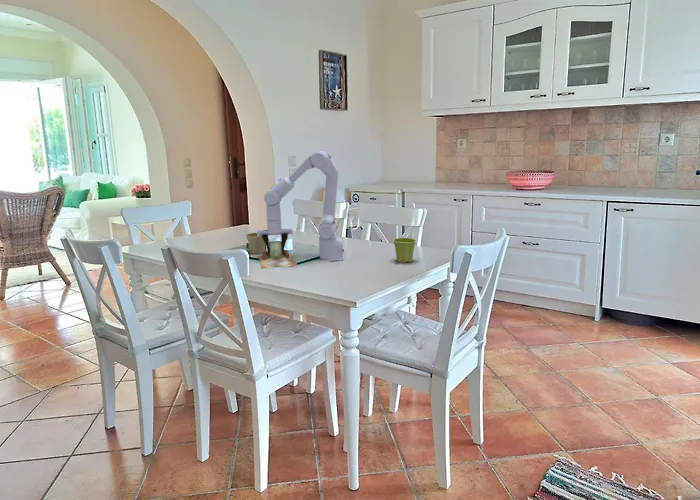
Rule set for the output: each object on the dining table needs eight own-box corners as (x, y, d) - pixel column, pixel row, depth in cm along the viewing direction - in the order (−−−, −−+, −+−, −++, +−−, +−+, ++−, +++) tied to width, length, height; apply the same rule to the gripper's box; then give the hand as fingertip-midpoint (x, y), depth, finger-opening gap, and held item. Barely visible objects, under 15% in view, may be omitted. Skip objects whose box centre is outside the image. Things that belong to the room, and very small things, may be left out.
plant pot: (419, 259, 210) (419, 238, 208) (412, 264, 202) (412, 243, 200) (397, 257, 214) (397, 237, 212) (389, 262, 206) (389, 241, 204)
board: (291, 255, 222) (291, 249, 221) (297, 267, 201) (297, 261, 200) (258, 257, 219) (258, 251, 218) (261, 270, 198) (260, 263, 198)
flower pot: (272, 254, 224) (271, 234, 223) (252, 257, 219) (250, 237, 217) (263, 250, 232) (261, 231, 230) (243, 253, 227) (242, 234, 225)
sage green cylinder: (281, 255, 219) (280, 240, 217) (283, 259, 211) (282, 244, 210) (269, 256, 217) (268, 241, 216) (270, 260, 210) (269, 245, 209)
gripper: (290, 217, 217) (292, 248, 220) (255, 219, 214) (257, 251, 217) (292, 219, 211) (293, 252, 214) (256, 221, 208) (258, 254, 211)
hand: (275, 251), depth 215 cm, fingers closed on sage green cylinder, 5 cm apart
